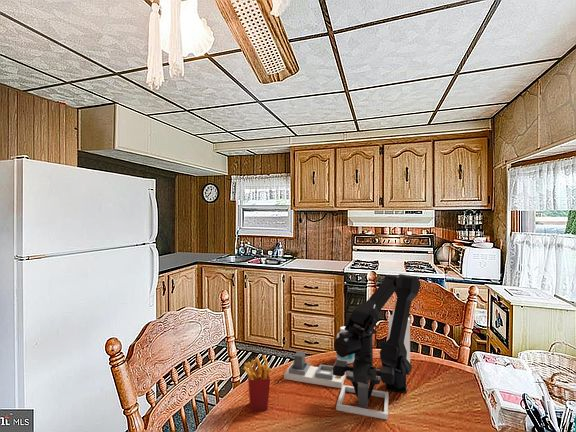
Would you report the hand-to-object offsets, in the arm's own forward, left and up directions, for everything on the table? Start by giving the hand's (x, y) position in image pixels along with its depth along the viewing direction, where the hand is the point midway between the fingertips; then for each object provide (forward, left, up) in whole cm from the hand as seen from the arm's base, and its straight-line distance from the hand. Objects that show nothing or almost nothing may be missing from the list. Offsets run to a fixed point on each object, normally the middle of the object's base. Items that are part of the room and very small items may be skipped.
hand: (363, 398), depth 104 cm
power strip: (+18, -11, -2) cm, 22 cm away
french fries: (+32, +12, -2) cm, 34 cm away
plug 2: (0, 0, -2) cm, 2 cm away
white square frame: (0, 0, -2) cm, 2 cm away
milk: (-11, -33, -2) cm, 35 cm away
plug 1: (+24, -11, 0) cm, 27 cm away
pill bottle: (+10, -30, -2) cm, 32 cm away
